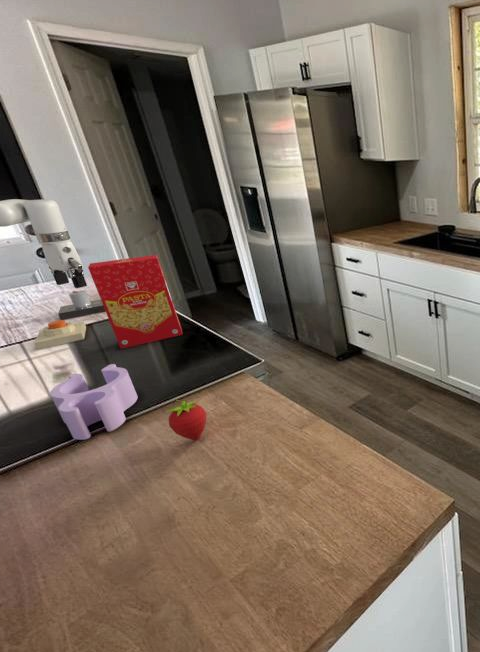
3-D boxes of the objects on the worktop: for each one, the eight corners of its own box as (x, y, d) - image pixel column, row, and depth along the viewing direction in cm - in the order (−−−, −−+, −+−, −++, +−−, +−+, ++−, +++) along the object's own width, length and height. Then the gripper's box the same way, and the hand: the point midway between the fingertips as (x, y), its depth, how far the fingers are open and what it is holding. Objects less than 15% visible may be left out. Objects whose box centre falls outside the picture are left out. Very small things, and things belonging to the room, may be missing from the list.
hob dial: (94, 304, 149) (88, 290, 147) (79, 308, 145) (72, 294, 143) (86, 302, 150) (81, 289, 148) (71, 307, 146) (65, 293, 144)
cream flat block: (84, 339, 127) (79, 327, 126) (37, 349, 121) (31, 337, 120) (86, 327, 136) (81, 316, 134) (42, 336, 130) (37, 324, 128)
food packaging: (120, 348, 121) (88, 267, 112) (121, 342, 125) (90, 263, 116) (182, 334, 130) (157, 258, 121) (181, 329, 134) (156, 254, 125)
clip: (138, 422, 89) (126, 395, 86) (56, 448, 81) (41, 420, 79) (137, 384, 103) (127, 360, 100) (67, 404, 95) (54, 378, 93)
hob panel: (60, 320, 142) (57, 313, 141) (63, 312, 148) (60, 306, 147) (107, 311, 149) (105, 304, 148) (108, 304, 155) (105, 298, 154)
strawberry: (180, 456, 79) (164, 413, 75) (174, 438, 84) (158, 397, 80) (217, 442, 83) (202, 400, 79) (209, 425, 88) (195, 385, 84)
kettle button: (66, 327, 127) (63, 322, 126) (49, 330, 125) (47, 325, 124) (67, 324, 130) (64, 319, 129) (50, 327, 127) (48, 322, 127)
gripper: (84, 237, 139) (101, 285, 145) (52, 233, 144) (70, 279, 150) (55, 241, 133) (74, 291, 139) (22, 237, 138) (42, 285, 144)
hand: (72, 285), depth 144 cm, fingers open, 9 cm apart
